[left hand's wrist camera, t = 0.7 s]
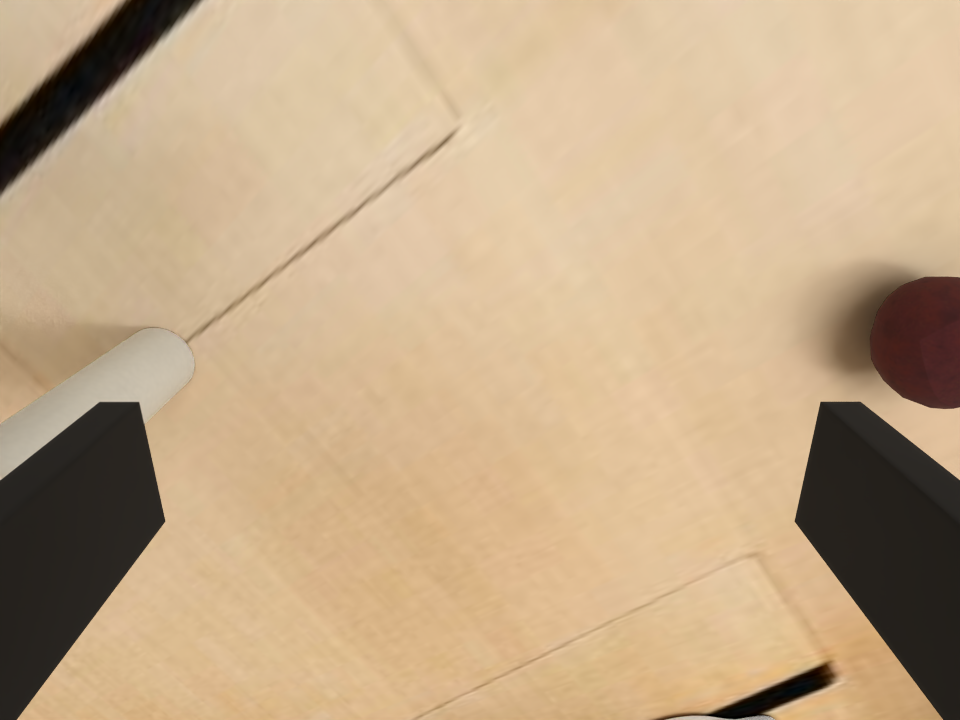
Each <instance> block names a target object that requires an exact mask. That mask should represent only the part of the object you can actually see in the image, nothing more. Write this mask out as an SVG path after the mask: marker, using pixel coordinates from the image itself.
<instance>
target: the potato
mask: <svg viewBox="0 0 960 720" xmlns="http://www.w3.org/2000/svg"><path fill="white" fill-rule="evenodd" d="M870 348H871V359H872V361H873V364H874V366H875V368H876V369H877V371H878V372H879V374H880V376H881V377H882V379H883V380H884V381H885V382H886V383H887V384H888V385H889V386H890V387H891V388H892V389H893V390H895V391H896V392H897V393H898V394H899V395H901V396H902V397H903V398H906V399H908V400H911V401H914V402H916V403H919V404H922V405H924V406H927V407H930V408H940V409H953V408H958V407H960V278H959V277H923V278H921V279H918V280H915V281H912V282H909V283H906V284H904V285H902V286H900V287H899V288H898V289H896V290H895V291H894V292H893V293H892V294H890V295H889V296H888V297H887V298H886V300H885V301H884V302H883V304H882V305H881V307H880V308H879V310H878V311H877V315H876V318H875V321H874V325H873V328H872V332H871V336H870Z"/></svg>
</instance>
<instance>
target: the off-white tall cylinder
mask: <svg viewBox="0 0 960 720" xmlns="http://www.w3.org/2000/svg"><path fill="white" fill-rule="evenodd" d="M194 368H195V362H194V357H193V354H192V351H191V349H190V348H189V346H188V345H187V344H186V342H185V341H184V340H183V339H182V338H180V337H179V336H178V335H176V334H175V333H173V332H171V331H169V330H166V329H162V328H146V329H142V330H140V331H138V332H136V333H135V334H133V335H132V336H130V337H129V338H127V339H126V340H124V341H123V342H121V343H120V344H118V345H117V346H115V347H114V348H113V349H111V350H110V351H108V352H107V353H105V354H104V355H102V356H101V357H99V358H98V359H96V360H95V361H93V362H92V363H90V364H89V365H87V366H86V367H84V368H83V369H81V370H80V371H78V372H77V373H75V374H74V375H72V376H71V377H69V378H68V379H66V380H65V381H63V382H62V383H60V384H59V385H57V386H56V387H54V388H53V389H52V390H50V391H49V392H47V393H46V394H44V395H43V396H41V397H40V398H38V399H37V400H35V401H34V402H32V403H31V404H29V405H28V406H26V407H25V408H23V409H22V410H20V411H19V412H17V413H16V414H14V415H13V416H11V417H10V418H8V419H7V420H5V421H4V422H2V423H1V424H0V477H1V478H2V479H3V478H4V477H5V476H6V475H8V474H9V473H10V472H11V471H13V470H14V469H15V468H16V467H18V466H19V465H20V464H22V463H23V462H24V461H25V460H27V459H28V458H29V457H30V456H32V455H33V454H34V453H35V452H37V451H38V450H39V449H41V448H42V447H43V446H44V445H46V444H47V443H48V442H49V441H51V440H52V439H53V438H54V437H56V436H57V435H58V434H60V433H61V432H62V431H63V430H65V429H66V428H67V427H68V426H70V425H71V424H72V423H73V422H75V421H76V420H77V419H79V418H80V417H81V416H82V415H84V414H85V413H86V412H87V411H89V410H90V409H91V408H92V407H94V406H95V405H96V404H98V403H99V402H139V403H140V407H141V412H142V416H143V421H144V424H145V423H146V422H148V421H149V420H150V419H151V418H152V417H153V416H154V415H155V414H156V413H157V412H158V411H159V410H160V409H161V408H162V407H163V406H164V405H165V404H166V403H167V402H168V401H169V400H170V399H171V398H172V397H173V396H175V395H176V394H177V393H178V392H179V391H180V390H181V389H182V388H183V387H184V386H185V385H186V384H187V383H188V382H189V381H190V379H191V378H192V376H193V373H194Z"/></svg>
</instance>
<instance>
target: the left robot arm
mask: <svg viewBox="0 0 960 720" xmlns="http://www.w3.org/2000/svg"><path fill="white" fill-rule="evenodd" d="M164 522H165V518H164V513H163V509H162V504H161V499H160V495H159V490H158V486H157V481H156V476H155V472H154V467H153V462H152V458H151V453H150V449H149V444H148V439H147V435H146V430H145V426H144V421H143V416H142V412H141V407H140V403H139V402H99V403H98V404H96V405H95V406H94V407H92V408H91V409H90V410H89V411H87V412H86V413H85V414H84V415H82V416H81V417H80V418H79V419H77V420H76V421H75V422H73V423H72V424H71V425H70V426H68V427H67V428H66V429H65V430H63V431H62V432H61V433H60V434H58V435H57V436H56V437H54V438H53V439H52V440H51V441H49V442H48V443H47V444H46V445H44V446H43V447H42V448H41V449H39V450H38V451H37V452H35V453H34V454H33V455H32V456H30V457H29V458H28V459H27V460H25V461H24V462H23V463H22V464H20V465H19V466H18V467H16V468H15V469H14V470H13V471H11V472H10V473H9V474H8V475H6V476H5V477H4V478H3V479H1V480H0V720H17V719H18V717H19V716H20V715H21V713H22V712H23V711H24V709H25V708H26V707H27V705H28V704H29V703H30V701H31V700H32V699H33V697H34V696H35V695H36V693H37V692H38V691H39V689H40V688H41V687H42V685H43V684H44V683H45V681H46V680H47V679H48V677H49V676H50V675H51V673H52V672H53V671H54V669H55V668H56V667H57V665H58V664H59V663H60V661H61V660H62V659H63V657H64V656H65V655H66V653H67V652H68V651H69V649H70V648H71V647H72V645H73V644H74V643H75V641H76V640H77V639H78V637H79V636H80V635H81V633H82V632H83V631H84V629H85V628H86V627H87V625H88V624H89V623H90V621H91V620H92V619H93V617H94V616H95V615H96V613H97V612H98V611H99V609H100V608H101V607H102V605H103V604H104V603H105V601H106V600H107V599H108V597H109V596H110V595H111V593H112V592H113V591H114V589H115V588H116V587H117V585H118V584H119V583H120V581H121V580H122V579H123V577H124V576H125V575H126V573H127V572H128V570H129V569H130V568H131V566H132V565H133V564H134V562H135V561H136V560H137V558H138V557H139V556H140V554H141V553H142V552H143V550H144V549H145V548H146V546H147V545H148V544H149V542H150V541H151V540H152V538H153V537H154V536H155V534H156V533H157V532H158V530H159V529H160V528H161V526H162V525H163V524H164ZM795 522H796V524H797V525H798V526H799V528H800V529H801V530H802V532H803V533H804V534H805V536H806V537H807V538H808V540H809V541H810V542H811V544H812V545H813V546H814V548H815V549H816V550H817V552H818V553H819V554H820V556H821V557H822V558H823V560H824V561H825V562H826V564H827V565H828V566H829V568H830V569H831V570H832V572H833V573H834V575H835V576H836V577H837V579H838V580H839V581H840V583H841V584H842V585H843V587H844V588H845V589H846V591H847V592H848V593H849V595H850V596H851V597H852V599H853V600H854V601H855V603H856V604H857V605H858V607H859V608H860V609H861V611H862V612H863V613H864V615H865V616H866V617H867V619H868V620H869V621H870V623H871V624H872V625H873V627H874V628H875V629H876V631H877V632H878V633H879V635H880V636H881V637H882V639H883V640H884V641H885V643H886V644H887V645H888V647H889V648H890V649H891V651H892V652H893V653H894V655H895V656H896V657H897V659H898V660H899V661H900V663H901V664H902V665H903V667H904V668H905V669H906V671H907V672H908V673H909V675H910V676H911V677H912V679H913V680H914V681H915V683H916V684H917V685H918V687H919V688H920V689H921V691H922V692H923V693H924V695H925V696H926V697H927V699H928V700H929V701H930V703H931V704H932V705H933V707H934V708H935V709H936V711H937V712H938V713H939V715H940V716H941V717H942V719H943V720H960V480H959V479H957V478H956V477H955V476H954V475H952V474H951V473H950V472H949V471H947V470H946V469H945V468H944V467H942V466H941V465H940V464H938V463H937V462H936V461H935V460H933V459H932V458H931V457H930V456H928V455H927V454H926V453H925V452H923V451H922V450H921V449H919V448H918V447H917V446H916V445H914V444H913V443H912V442H911V441H909V440H908V439H907V438H906V437H904V436H903V435H902V434H900V433H899V432H898V431H897V430H895V429H894V428H893V427H892V426H890V425H889V424H888V423H887V422H885V421H884V420H883V419H881V418H880V417H879V416H878V415H876V414H875V413H874V412H873V411H871V410H870V409H869V408H868V407H866V406H865V405H864V404H862V403H861V402H821V403H820V407H819V412H818V416H817V421H816V426H815V430H814V435H813V439H812V444H811V449H810V453H809V458H808V462H807V467H806V472H805V476H804V481H803V486H802V490H801V495H800V499H799V504H798V509H797V513H796V518H795Z"/></svg>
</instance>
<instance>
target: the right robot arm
mask: <svg viewBox="0 0 960 720" xmlns="http://www.w3.org/2000/svg"><path fill="white" fill-rule="evenodd" d="M666 720H775V719H774V718H772V717H769V716H753V717H746V718H740V719H725V718H718V717H711V716H683V717H676V718H671V719H666Z"/></svg>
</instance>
